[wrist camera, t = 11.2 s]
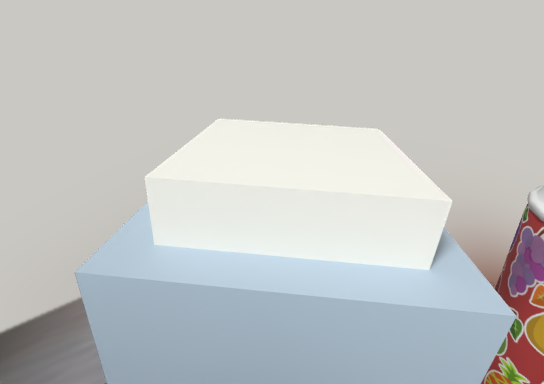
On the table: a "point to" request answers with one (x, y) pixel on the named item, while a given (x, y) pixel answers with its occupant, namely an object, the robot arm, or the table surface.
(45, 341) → the table surface
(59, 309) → the table surface
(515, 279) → the smoothie
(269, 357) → the carton
